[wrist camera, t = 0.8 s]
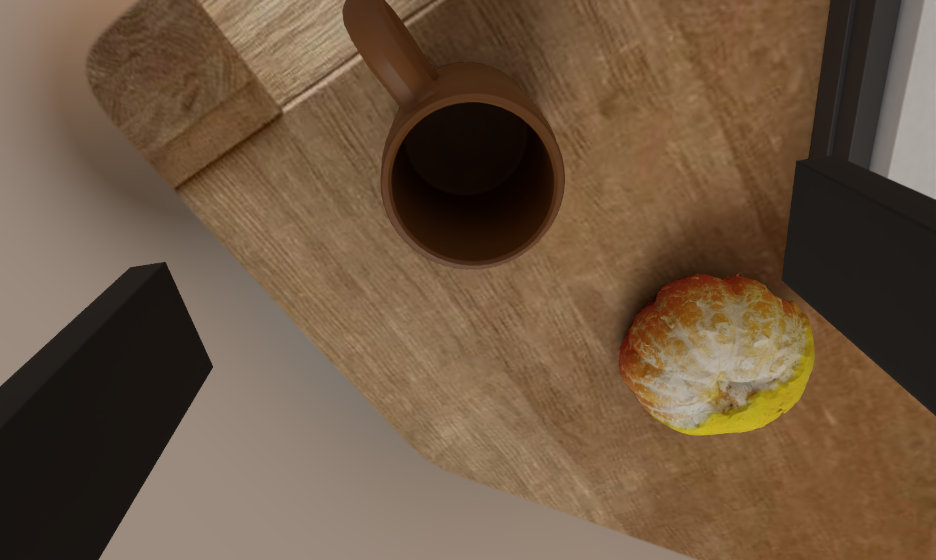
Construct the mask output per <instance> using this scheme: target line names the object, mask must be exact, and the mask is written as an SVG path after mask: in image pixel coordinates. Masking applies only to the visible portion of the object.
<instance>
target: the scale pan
mask: <svg viewBox="0 0 936 560" xmlns="http://www.w3.org/2000/svg"><path fill="white" fill-rule="evenodd" d="M869 170H870V171H872V172H875V173H877V174H879V175H881V176H884V177H886V178H888V179H890V180H893V181H895V182H897V183H899V184H902V185H904V186H906V187H909V188H911V189H913V190H915V191H918V192H920V193H922V194H924V195H927V196H929V197H931V198H933V199H936V0H901V5H900V10H899V15H898V20H897V26H896V31H895V36H894V41H893V47H892V52H891V57H890V62H889V67H888V73H887V78H886V83H885V88H884V94H883V99H882V104H881V109H880V115H879V120H878V125H877V130H876V135H875V141H874V146H873V151H872V156H871V162H870V167H869Z"/></svg>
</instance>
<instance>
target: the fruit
mask: <svg viewBox="0 0 936 560" xmlns="http://www.w3.org/2000/svg"><path fill="white" fill-rule="evenodd" d="M814 359H815V353H814V341H813V334H812V328H811V325H810V323H809V320H808V318H807V316H806V315H804V314H802V312H801V310H800V308H799V307H798V306H797V305H796V303H795V302H794V301H791V302H787V301H785V300H784V299H782V298H780V297H776V296H774V295H773V294H772V293H771V292H770V291H769V290H768V289H767V288H766V285H763V284H762V283H760V282H758V281H757V280H754V279H749V278H747V277H742V276H740V275H739V273H737V274H736V275H735V276H734V277H729V276H726V277H725V278H723V279H720V278H717V277H712V276H710V275H706V274H704V275H700V274H696V273H694V274H693V275H692V276H688V275H687V276H686V277H685V278H683V279H682V280H676V281H672V282H671V283H669V284H667V285H663V286H662V289H661V290H660V291H658V293H657V297H656V301H649V302H648V304H647V305H645V306H644V307H643V308H642V309H641V310H640V312H639V313H638V314H637V315H636V316H635V319H634V322H633V324H632V326H631V327H630V329H629V330H628V333H627V334H626V337H625V339H624V341H623V342H622V345H621V346H620V355H619V370H620V374H621V376H622V377H623V379H624V381H625V382H626V383H627V385H628V386H629V387H630V389H631V390H632V391H633V392H634V394H635V395H636V397H637V399H638V400H639V402H640V403H641V404H642V405H643V406H644V407H645V409H646V410H647V411H649V413H650V414H651V415H652V416H653V417H654V418H656V419H657V420H658V421H660V422H661V423H663V424H665V425H667V426H669V427H670V428H672V429H674V430H677V431H679V432H682V433H685V434H690V435H714V434H724V433H732V432H746V431H750V430H754V429H756V428H760V427H763V426H765V425H766V424H769V422H772V421H773V420H774V419H776V418H777V417H779V416H780V414H781V413H782V412H784V413H785V412H787V411H788V410H789V409H790V408H791V407H793V405H794V404H795V403H796V402H797V401H798V400H799V399H800V397H801V395H802V394H803V392H804V389H805V386H806V384H807V381H808V379H809V376H810V373H811V371H812V368H813V365H814Z"/></svg>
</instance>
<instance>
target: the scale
mask: <svg viewBox="0 0 936 560" xmlns="http://www.w3.org/2000/svg"><path fill="white" fill-rule="evenodd" d="M900 5H901V0H831V4H830V11H829V18H828V26H827V33H826V40H825V47H824V54H823V61H822V69H821V76H820V83H819V90H818V97H817V104H816V112H815V119H814V126H813V133H812V140H811V147H810V155H809V159H813V158H819V157H825V156H831V155H836V156H838V157H841V158H843V159H845V160H847V161H850V162H852V163H854V164H857V165H859V166H861V167H863V168H866V169H868V170H869V167H870V162H871V156H872V151H873V146H874V141H875V135H876V130H877V125H878V120H879V115H880V109H881V104H882V99H883V94H884V88H885V83H886V78H887V73H888V67H889V62H890V57H891V52H892V47H893V41H894V36H895V31H896V26H897V20H898V15H899V10H900Z"/></svg>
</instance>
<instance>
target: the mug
mask: <svg viewBox="0 0 936 560" xmlns="http://www.w3.org/2000/svg"><path fill="white" fill-rule="evenodd" d="M342 11H343V21H344V25H345V27H346V29H347V31H348V33H349V35H350V38H351V40H352V41H353V43H354V45H355V46H356V48H357V50H358V51H359V53H360V54H361V56H362V57H363V59H364V60H365V62H366V63H367V65H368V66H369V68H370V69H371V70H372V72H373V73H374V74H375V76H376V77H377V78H378V79H379V81H380V82H381V83H382V84H383V86H384V87H385V88H386V89H387V91H388V92H389V93H390V95H391V96H392V97H393V98H394V100H395V101H396V102H397V103H398V105H399V106H400V107H399V110H398V113H397V115H396V116H395V119H394V122H393V124H392V127H391V129H390V132H389V135H388V137H387V140H386V143H385V147H384V152H383V156H382V166H381V194H382V199H383V204H384V207H385V210H386V213H387V215H388V217H389V219H390V221H391V223H392V225H393V227H394V228H395V230H396V231H397V233H398V234H399V235H400V236H401V238H402V239H403V240H404V241H405V242H406V243H407V244H408V245H409V246H410V247H411V248H413V249H414V250H415V251H416V252H418V253H419V254H421V255H422V256H424V257H426V258H428V259H430V260H432V261H434V262H436V263H439V264H442V265H445V266H449V267H453V268H459V269H484V268H490V267H494V266H498V265H501V264H504V263H507V262H509V261H511V260H513V259H515V258H517V257H519V256H521V255H522V254H524V253H525V252H527V251H528V250H529V249H531V248H532V247H533V246H534V245H535V244H536V243H538V241H539V240H540V239H541V238H542V237H543V236H544V235H545V234H546V232H547V231H548V229H549V228H550V227H551V225H552V223H553V222H554V220H555V218H556V216H557V214H558V211H559V208H560V206H561V202H562V198H563V194H564V185H565V173H564V165H563V159H562V155H561V152H560V149H559V146H558V144H557V142H556V139H555V136H554V133H553V131H552V129H551V127H550V125H549V124H548V122H547V120H546V119H545V117H544V116H543V114H542V113H541V112H540V110H539V109H538V108H537V107H536V105H535V104H534V103H533V102H532V100H531V99H530V98H529V97H528V96H527V95H526V94H525V92H524V91H523V90H522V89H521V88H520V87H519V86H518V84H517V83H516V82H514V81H513V80H512V79H511V78H510V77H509V76H507V75H505V74H504V73H502V72H501V71H499V70H497V69H494V68H492V67H490V66H486V65H483V64H478V63H469V62H461V63H454V64H449V65H446V66H442V67H440V68H438V69H434V68H433V67H432V65H431V64H430V63H429V61H428V60H427V58H426V57H425V55H424V54H423V52H422V51H421V49H420V48H419V46H418V45H417V43H416V42H415V40H414V39H413V37H412V36H411V34H410V33H409V31H408V30H407V28H406V27H405V25H404V24H403V22H402V21H401V20H400V18H399V17H398V16H397V14H396V13H395V12H394V10H393V9H392V8H391V7H390V5H389V4H388V3H387V2H386V1H385V0H346V1H345V4H344V7H343V10H342Z"/></svg>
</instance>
